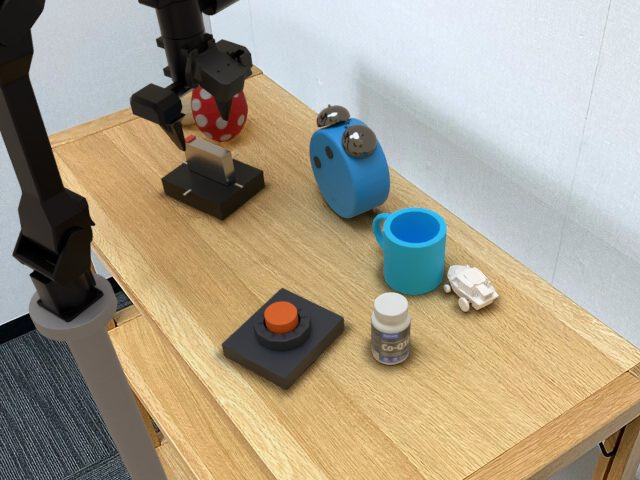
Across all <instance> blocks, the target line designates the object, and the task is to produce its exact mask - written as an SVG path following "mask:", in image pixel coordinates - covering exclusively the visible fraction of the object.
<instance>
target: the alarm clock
mask: <svg viewBox="0 0 640 480" xmlns="http://www.w3.org/2000/svg"><path fill="white" fill-rule="evenodd" d="M315 124H316V127H317V128H319V129H317V130H315V131H314V132H313V133H312V135H311V137H310V140H309V146H308V149H309V152H308V153H309V161H310V166H311V171H312V173H313V174H312V175H313V177H314V180H315V182H316V185H317V187H318V189H319V191H320V193H321V195H322V197H323V199H324V200H325V202H326V203H327V204H328V206H329V207H330V209H331V210H333V212H334V213H336V214H337V215H338V216H339V217H341V218H343V219H352V218H354V217H357V216H359V215H361V214H363V213H366V212H368V211H370V210H371V211H372V214H376V208H378V207H380V206H382V205H384V204H385V203H386V201H387V200H388V198H389V195H390V190H391V175H390V168H389V164H388V161H387V158H386V155H385V154H386V153H385V152H384V150H383V147H382V145H381V143H380V140H379V139H378V138H377V135H376V133H375V131H374V130H372V128H370V127H369V126H368V125H367V124H366V123H365V122H363V121H362V120H360V119H359V118H355V117H352V115H351V113H350V111H349V110H348V109H347V108H346V107H344V106H343V105H338V104H334V105H331V104H330V103H328V104H327V107H325V108H323V109H321V111H320V112H319V113H318V114H317V116H316V118H315Z"/></svg>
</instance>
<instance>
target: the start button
mask: <svg viewBox="0 0 640 480" xmlns="http://www.w3.org/2000/svg"><path fill="white" fill-rule="evenodd" d="M264 316H265V322H266V327H267V329H268V330H269V331H270V332H272V333H275V334H286V333H289V332H292V331H293V330H294V329H295V328H296V327H297V325H298V314H297V309H296V307H295V306H294V305H293V304H291V303H289V302H283V301H282V302H276V303H273V304H271V305H270V306H268V307H267V309H266V310H265V313H264Z"/></svg>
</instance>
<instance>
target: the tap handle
mask: <svg viewBox="0 0 640 480" xmlns="http://www.w3.org/2000/svg"><path fill="white" fill-rule="evenodd" d="M185 142H186V151H183V152H184V156H185V161H187V165H188V169H189V170H191V171H193V172H196V173H198V174H201V175H203V176H205V177H208V178H210V179H212V180H215V181H217V182H219V183H222V184H224V185H226V186H228V185H229V184H231V183H232V182H233V181H234V180H236V177H235V171H234V166H233V160H232V157H233V154H232V151H231V150H229V149H226V148H224V147H222V146H220V145H217V144H214V143H212V142H210V141H208V140H205V139H202V138H199V137H197V136H196V135H193V134H189V135H187V136H186V137H185Z"/></svg>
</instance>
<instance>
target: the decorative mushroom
mask: <svg viewBox="0 0 640 480" xmlns="http://www.w3.org/2000/svg"><path fill="white" fill-rule="evenodd" d="M180 99H181V102H182V106H183V108H182V111H181V113H184V114H186V115H185V117H184V118H183V119H182V121H181V123H182V126H187V125H194V124H195V125H196V127H197V129H198V130H199V131H200V132H201V133H202V134H203V136H205V137H206V139H210V140H212V141H214V142H217V143H226V142H230V141H232V140H233V139H235V138H236V137H237V136H238V135H239V134H241V132H242V130H243V129H244V127H245V125H246V123H247V120H248V113H249V107H248V100H247V97H246V94H245V92H244V90H243V91H242V92H241V93H238V94H236V95H235V96H233V101H232V106H231V112H230V118H229V120H228V121H225V120H223V119H222V118H221V115H220V113H219V111H218V108H217V105H216V102H215V99H214V96H212V95H211V94H210V93H208V92H207V91H206V90H204V89H203V88H202V87H200V86H199V87H197V88H196V89H194V90H192V91H191V97H182V98H180Z"/></svg>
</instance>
